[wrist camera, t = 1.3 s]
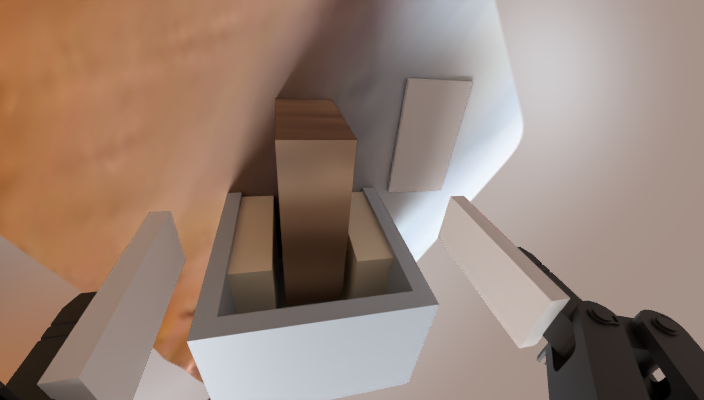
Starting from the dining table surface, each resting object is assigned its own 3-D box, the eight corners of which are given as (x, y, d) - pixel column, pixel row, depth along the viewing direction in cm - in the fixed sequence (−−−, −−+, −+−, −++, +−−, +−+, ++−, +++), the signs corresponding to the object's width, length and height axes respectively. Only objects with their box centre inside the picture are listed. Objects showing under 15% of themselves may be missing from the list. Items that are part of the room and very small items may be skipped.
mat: (407, 77, 23) (409, 78, 23) (470, 81, 25) (473, 82, 24) (387, 190, 29) (388, 192, 29) (439, 188, 31) (440, 190, 30)
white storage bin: (227, 192, 26) (186, 341, 14) (374, 187, 29) (439, 304, 17) (241, 270, 31) (220, 422, 19) (363, 257, 34) (407, 383, 23)
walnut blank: (275, 97, 22) (275, 140, 15) (331, 99, 23) (357, 140, 16) (283, 234, 30) (286, 307, 22) (326, 231, 31) (341, 299, 23)
